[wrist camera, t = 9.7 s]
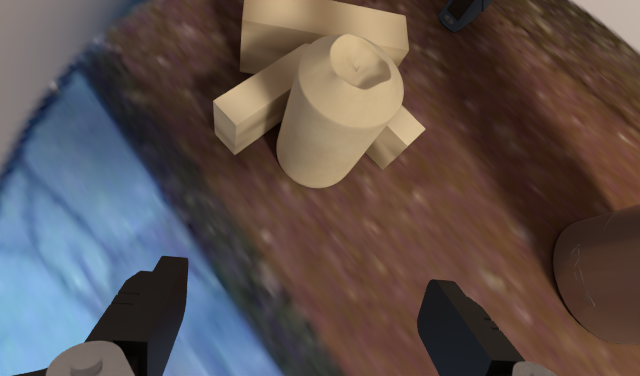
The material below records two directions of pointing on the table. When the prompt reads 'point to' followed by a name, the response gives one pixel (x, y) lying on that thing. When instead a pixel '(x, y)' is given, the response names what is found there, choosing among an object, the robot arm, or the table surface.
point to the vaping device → (461, 12)
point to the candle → (336, 108)
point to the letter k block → (282, 61)
